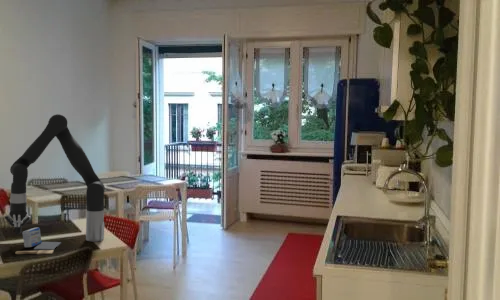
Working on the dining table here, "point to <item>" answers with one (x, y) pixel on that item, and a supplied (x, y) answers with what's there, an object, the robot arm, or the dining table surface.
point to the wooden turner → (35, 252)
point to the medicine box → (32, 237)
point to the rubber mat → (47, 246)
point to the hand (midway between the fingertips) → (18, 233)
